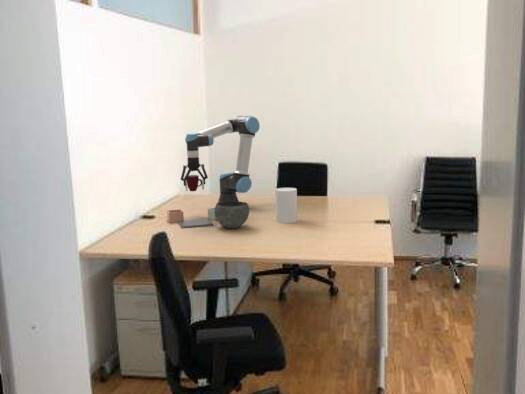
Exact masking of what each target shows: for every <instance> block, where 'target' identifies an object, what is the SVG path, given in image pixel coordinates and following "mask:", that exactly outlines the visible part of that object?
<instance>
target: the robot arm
mask: <svg viewBox="0 0 525 394" xmlns="http://www.w3.org/2000/svg"><path fill="white" fill-rule="evenodd" d="M260 127H261V125H260V121H259V120H258V118H257V117H255V116H251V115H238V116H237V115H236V116H234V117H232V118H229V119H227V120H225V121H223V123H220V124H218V125H215V126H212V127H209V128H207V129H204V130H201V131H198V132H190V133H189V132H188V133H187V134H186V136H185V138H184V140H185V144H186V154H187V155H186V156H187V157H186V158H187V164H186V165H184V164H183V165H182V168H183V169H182V173H181V176H180V181H183V186H184V187H185V191H186V192H188V190H189V189H188V185H187V180H186V179H187V177H188V176H189V175H190V173H192V172H197V173H198V174H199V176H200V177H201V180H202V185H201V189H202V190H203V191H204V190H205V185H206V180H208V178H209V176H208V174H207V171H206V169H205V164H204V163H201V164H200V155H199V154H200V153H199V149H200V148H204V147H211V146H213V145H214V143H215V142H214V141H215V140H214V139H216V138H217V137H220V136H224V135H226V134H232V133H238V135H239V145H238V151H237V159H236V166H235V171H233V172H227V173H220V174H219V198H218V201H217V203H218V202H221V201H239V199H238V195H237V193H240V194H241V193H243V194H245V193H247V192H249V190H250V189H251V188H252V182H253V181H252V179H251V178H250V173H249V172H248V171H249V165H250V157H251V152H252V151H251V150H252V144H253V138H255V137H256V134H257V133H258V131H259V130H260ZM199 168H201V170H202V172H203V173H202V172H201V170H200V169H199ZM186 169H187V172H186ZM239 202H240V201H239Z"/></svg>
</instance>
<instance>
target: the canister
mask: <svg viewBox="0 0 525 394" xmlns="http://www.w3.org/2000/svg"><path fill="white" fill-rule="evenodd" d="M297 190H298V189H297V188H296V187H278V188H275V189H274V194H275V195H274V197H275V198H274V199H275V222H277V223H279V224H280V223H281V224H292V223H296V222H298V191H297Z"/></svg>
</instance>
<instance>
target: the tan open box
mask: <svg viewBox="0 0 525 394" xmlns="http://www.w3.org/2000/svg"><path fill="white" fill-rule="evenodd" d="M184 216H185V215H184V211H183V210H182V209H181V208H180V209H178V208H177V209H167V210H166V217H167V219H166V220H167V221H168V223H170V224H171V223H172V224H173V223H177V221H185V220H184Z"/></svg>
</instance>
